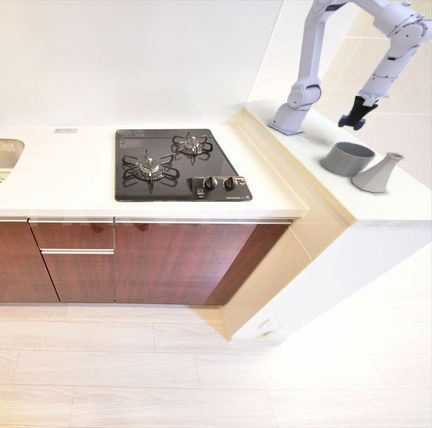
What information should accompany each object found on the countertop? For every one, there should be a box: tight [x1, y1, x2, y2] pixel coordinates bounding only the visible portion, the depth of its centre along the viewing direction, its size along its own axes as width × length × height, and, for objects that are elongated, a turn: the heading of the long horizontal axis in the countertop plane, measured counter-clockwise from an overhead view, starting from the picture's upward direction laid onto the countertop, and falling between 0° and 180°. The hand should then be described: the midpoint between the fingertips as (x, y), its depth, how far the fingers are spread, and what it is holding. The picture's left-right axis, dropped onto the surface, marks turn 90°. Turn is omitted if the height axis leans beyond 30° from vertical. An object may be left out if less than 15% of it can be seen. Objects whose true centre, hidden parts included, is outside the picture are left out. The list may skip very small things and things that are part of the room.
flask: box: [351, 151, 405, 193], centre depth 63 cm, size 7×7×10 cm
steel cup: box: [321, 141, 377, 178], centre depth 70 cm, size 10×10×6 cm
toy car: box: [337, 110, 367, 132], centre depth 74 cm, size 6×4×4 cm, turn 51°
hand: (350, 122), depth 74 cm, fingers closed on toy car, 3 cm apart
